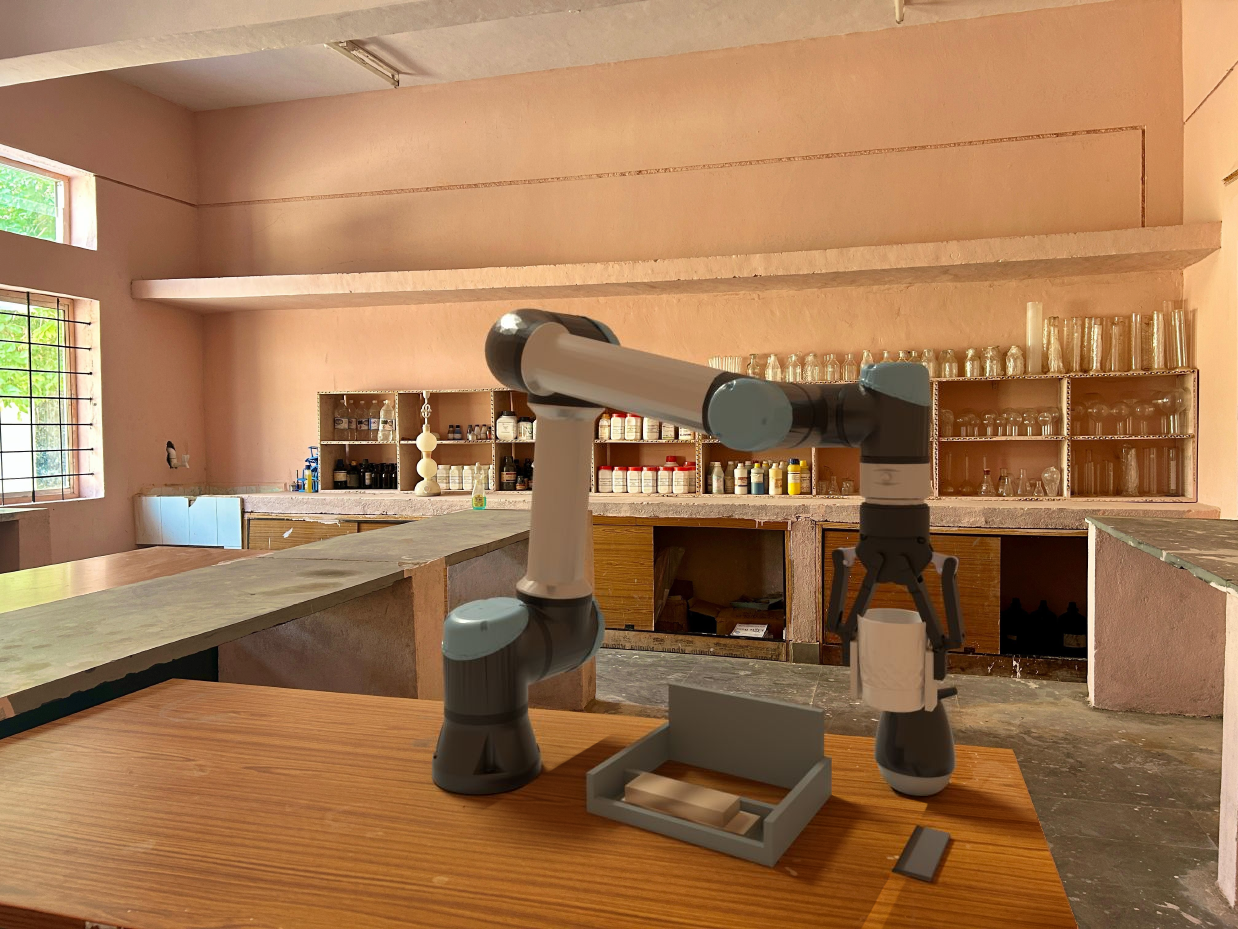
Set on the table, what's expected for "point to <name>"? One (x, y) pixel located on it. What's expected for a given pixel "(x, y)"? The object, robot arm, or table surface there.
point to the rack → (726, 767)
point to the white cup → (892, 659)
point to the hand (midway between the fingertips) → (892, 700)
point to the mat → (922, 853)
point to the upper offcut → (683, 799)
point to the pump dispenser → (916, 748)
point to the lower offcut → (739, 825)
